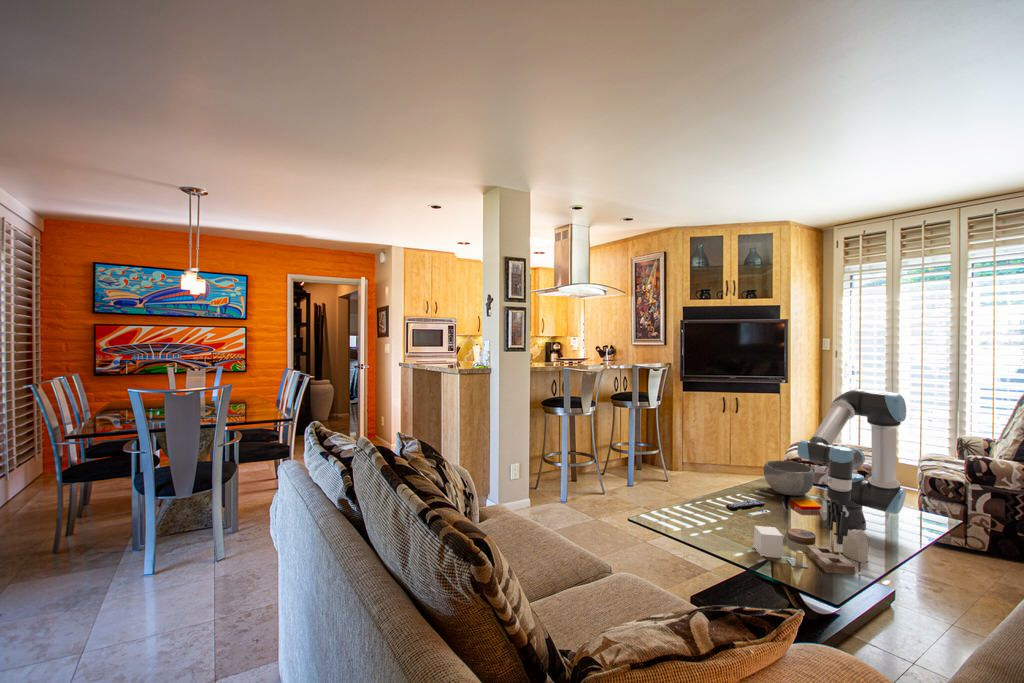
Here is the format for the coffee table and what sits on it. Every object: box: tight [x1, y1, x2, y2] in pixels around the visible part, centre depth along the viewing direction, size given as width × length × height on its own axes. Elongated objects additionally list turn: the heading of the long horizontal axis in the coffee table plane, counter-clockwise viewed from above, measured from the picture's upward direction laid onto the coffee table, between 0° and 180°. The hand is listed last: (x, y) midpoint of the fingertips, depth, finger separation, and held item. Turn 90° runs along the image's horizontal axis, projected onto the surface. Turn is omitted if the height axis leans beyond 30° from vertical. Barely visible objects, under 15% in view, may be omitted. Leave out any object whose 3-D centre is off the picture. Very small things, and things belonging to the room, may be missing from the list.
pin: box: [831, 521, 841, 555], centre depth 189 cm, size 3×3×12 cm
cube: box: [753, 525, 784, 559], centre depth 201 cm, size 8×8×9 cm
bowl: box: [763, 460, 815, 497], centre depth 273 cm, size 24×24×15 cm
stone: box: [841, 529, 870, 563], centre depth 198 cm, size 10×5×12 cm, turn 19°
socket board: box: [806, 545, 856, 575], centre depth 193 cm, size 16×10×3 cm, turn 172°
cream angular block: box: [786, 550, 809, 569], centre depth 192 cm, size 6×6×5 cm
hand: (835, 549), depth 189 cm, fingers closed on pin, 2 cm apart
